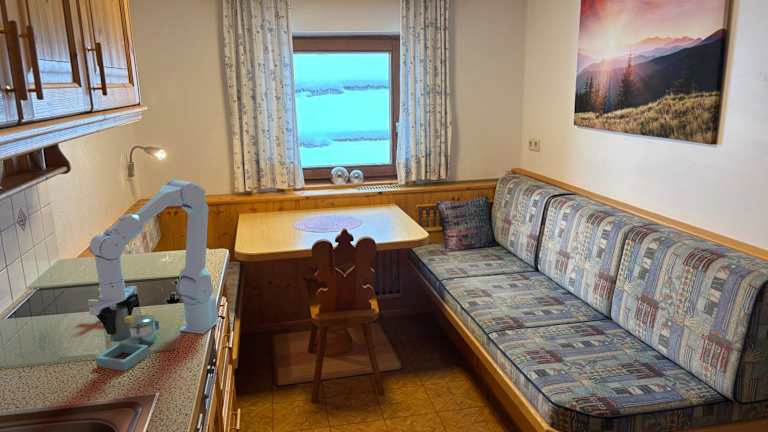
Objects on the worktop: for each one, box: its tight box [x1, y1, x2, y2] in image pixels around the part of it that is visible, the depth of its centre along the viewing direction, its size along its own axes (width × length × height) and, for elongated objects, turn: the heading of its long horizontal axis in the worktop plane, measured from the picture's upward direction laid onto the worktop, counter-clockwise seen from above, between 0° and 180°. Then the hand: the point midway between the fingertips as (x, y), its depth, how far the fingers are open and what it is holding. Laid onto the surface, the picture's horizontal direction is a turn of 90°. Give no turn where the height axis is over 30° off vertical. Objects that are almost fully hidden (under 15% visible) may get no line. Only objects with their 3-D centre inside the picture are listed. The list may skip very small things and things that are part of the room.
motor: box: [124, 314, 160, 347], centre depth 157 cm, size 11×7×7 cm
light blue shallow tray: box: [95, 341, 151, 372], centre depth 148 cm, size 9×9×2 cm
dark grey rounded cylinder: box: [109, 305, 135, 343], centre depth 145 cm, size 5×6×8 cm
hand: (119, 329), depth 146 cm, fingers closed on dark grey rounded cylinder, 5 cm apart
